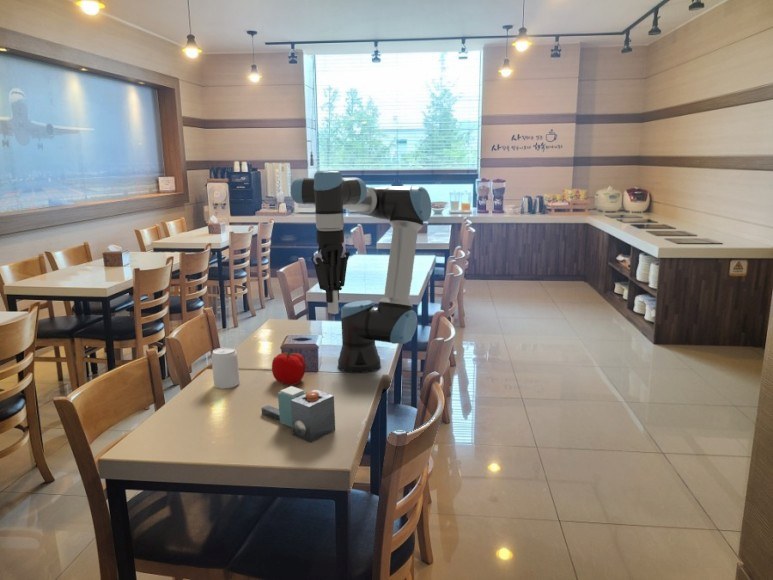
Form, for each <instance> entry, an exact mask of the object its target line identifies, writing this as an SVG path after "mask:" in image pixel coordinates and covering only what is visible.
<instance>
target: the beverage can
mask: <svg viewBox="0 0 773 580" xmlns="http://www.w3.org/2000/svg"><path fill="white" fill-rule="evenodd" d="M238 358H239V357H238V352H237V350H236V348H235V347H231V346H224V347H218V348H215V349H213V350H212V353H211V364H212V365H211V366H212V376H213V378H212V379H213V385H214V387H215V388H216V389H217V388H218V389H221V390H227V389H232V388H235V387H236V386H238V385H239V384H240V382H241V381H240V371H239V359H238Z"/></svg>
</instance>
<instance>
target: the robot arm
mask: <svg viewBox="0 0 773 580" xmlns="http://www.w3.org/2000/svg"><path fill="white" fill-rule="evenodd" d="M313 175H314V176H313V177H312V178H310V177H302V178H296V179H294V180H293V181H292V182H291V185H290V196H291V199H292V200H293V202H295V203H296V204H300V205H301V204H302V205H315V206H314V207H315V211H314V213H315V227H316V228H317V230H316V232H315V235H316V237H315V238H316V243H317V244H318V248H317V254H316V255H315V256H311V260H310V261H311V262H312V264H313V265H314V269H315V273H316V277H317V283H318V285H319V287H318V288H319V290H322V291H325V298H326V299H325V301H326V303H327V313H328V314H333V315H336V314H339V311H340V310H339V300H340V291H342V290H343V287H345V282H346V274H347V269H348V260H349V258H350V255H351V254H350V253H351V252H349V251H345V250H344V246H343V244H344V242H345V230H343V228H344V227H345V224H344V210H350V211H355V212H357V213H358V214H360V215H364V216H367V217H372V218H376V219H380V220H381V219H382V220H388V221H389V224H390V226H391V227H392V234H391V242H390V250H389V256H388V264H387V271H386V272H387V273H386V279H385V285H384V286H385V287H384V295H383V297H382V298H381V299H380V300H378V306H375V302H374V300H357V301H352V302H348V303H345V304H344V305H343V306H342V307H341V312H340V321H341V340H342V341H341V342H342V343H341V344H342V345H341V349H340V353H339V356H338V359H337V364H338V365H337V366H338V368H339V369H340V370H341V371H343V372H347V371H348V373H356V372H359V373H368V372H372V371H375V370H377V369H379V368H380V367H381V363H382V362H381V357H380V355H379V353H378V349H377V345H376V342H383V343H390V344H392V345H393V344H394V345H395V344H398V345H403V344H404V345H405V344H406V343H408V342H410V341H411V340H412V338H413V337H414V334H415V332H416V329H417V327H418V318H417V317H418V315H417V313H416V311H414V310H413V304H412V303H411V301H410V296H411V295H410V293H411V287H412V279H413V272H414V263H415V258H416V257H415V256H416V248H417V240H418V233H419V231H420V230H422V229H423V227H424V222H427V221H429V220H430V217H431V216H432V201H431V196H430V194H429V192H428V190H427V189H426V188H425V187H423V186H415V185H409V186H408V185H407V186H405V185H403V186H402V185H400V186H397V185H395V186H391V185H390V186H389V185H388V186H385V185H384V186H377V187H375V186H374V187H372V186H371V187H369V186H367V185H366V183H365V181H364V180H362V179H361V178H359V177H355V176H352V177H351V176H350V177H343V176H342V172H341V171H339V170H337V171H336V170H335V171H334V170H331V171H328V170H327V171H316V172H315V173H314V174H313Z"/></svg>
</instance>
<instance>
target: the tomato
mask: <svg viewBox="0 0 773 580" xmlns="http://www.w3.org/2000/svg"><path fill="white" fill-rule="evenodd" d="M271 372H272V376H273V378H274V379H275V381H277V382H279V383H282V384H284V385H290V386H293V385H297V384H299V383H300V382H301V381H302V379H303V378H304V375H305V373H306V361H305V358H304V357H303V355H302V354H301V353H297V352H283V351H282V352H281V353H278V354H277V355H276V356H275V357H274V358H273V359H272V363H271Z"/></svg>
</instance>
